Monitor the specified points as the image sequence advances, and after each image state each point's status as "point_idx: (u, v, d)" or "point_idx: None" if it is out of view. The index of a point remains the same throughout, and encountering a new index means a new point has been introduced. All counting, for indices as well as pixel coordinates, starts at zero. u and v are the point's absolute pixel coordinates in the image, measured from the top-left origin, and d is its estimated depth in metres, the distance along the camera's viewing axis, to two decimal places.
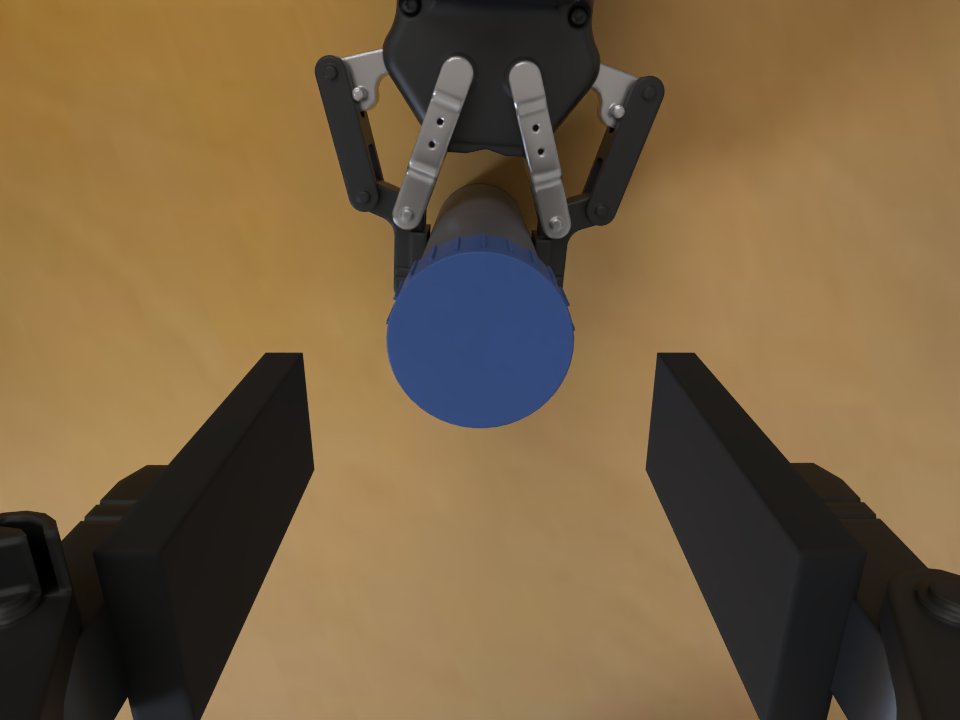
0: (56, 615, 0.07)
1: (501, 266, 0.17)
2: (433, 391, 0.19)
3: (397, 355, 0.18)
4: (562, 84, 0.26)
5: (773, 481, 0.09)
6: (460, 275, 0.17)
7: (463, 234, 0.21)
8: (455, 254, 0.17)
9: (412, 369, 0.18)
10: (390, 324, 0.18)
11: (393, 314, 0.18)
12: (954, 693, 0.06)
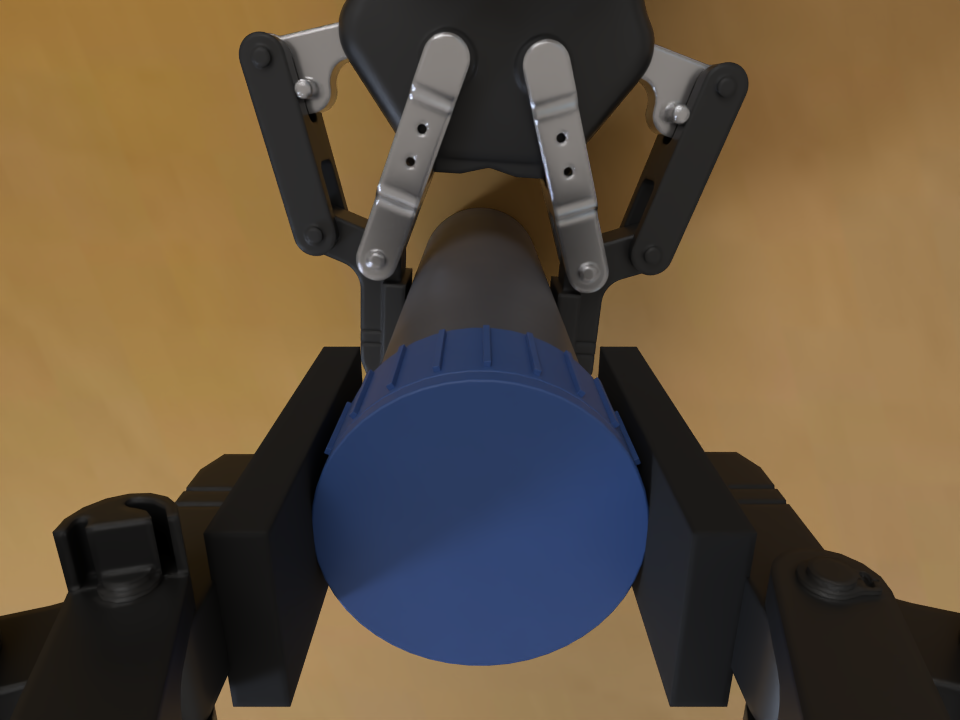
0: (175, 596, 0.07)
1: (520, 405, 0.09)
2: (398, 610, 0.11)
3: (332, 553, 0.10)
4: (600, 74, 0.18)
5: (683, 467, 0.09)
6: (443, 421, 0.09)
7: (453, 313, 0.13)
8: (434, 384, 0.09)
9: (359, 576, 0.10)
10: (317, 504, 0.10)
11: (321, 487, 0.10)
12: (828, 668, 0.06)
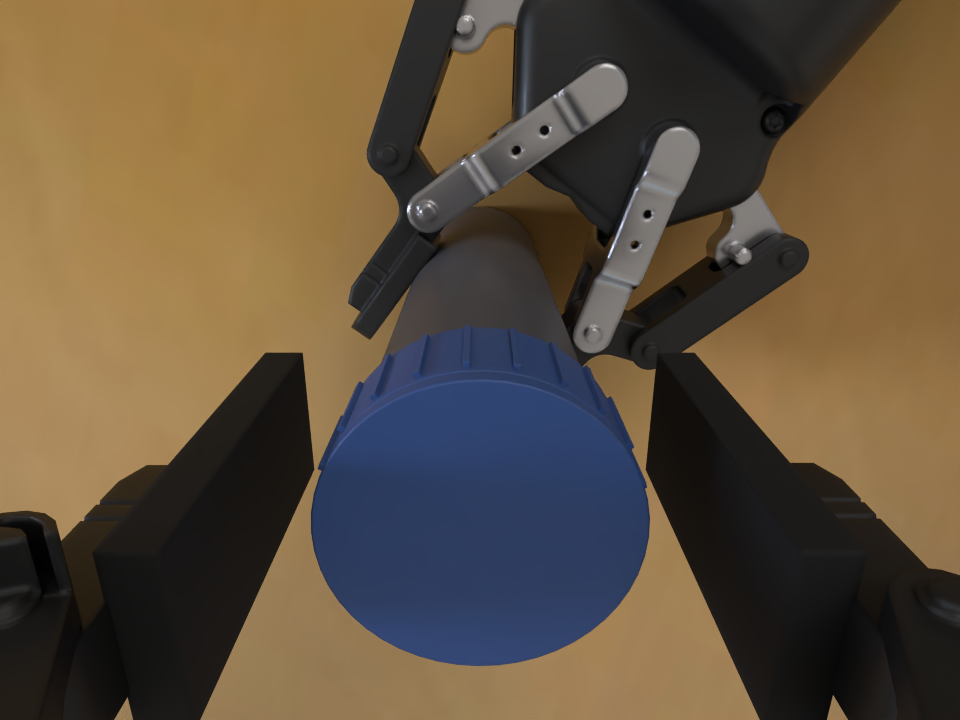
0: (56, 615, 0.07)
1: (377, 436, 0.09)
2: (506, 634, 0.11)
3: (417, 643, 0.11)
4: (706, 184, 0.19)
5: (773, 481, 0.09)
6: (353, 498, 0.10)
7: (519, 313, 0.13)
8: (318, 484, 0.10)
9: (452, 638, 0.11)
10: (365, 625, 0.11)
11: (353, 613, 0.11)
12: (954, 693, 0.06)
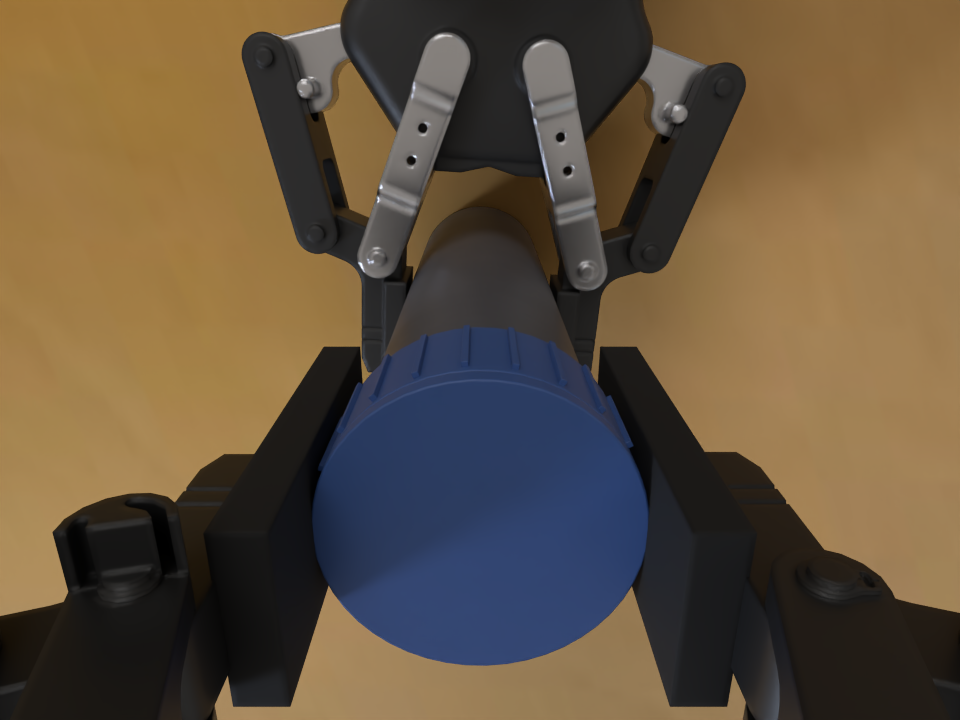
0: (175, 595, 0.07)
1: (335, 501, 0.10)
2: (567, 606, 0.10)
3: (497, 653, 0.11)
4: (599, 74, 0.18)
5: (683, 467, 0.09)
6: (354, 562, 0.10)
7: (453, 310, 0.13)
8: (321, 564, 0.10)
9: (523, 634, 0.11)
10: (442, 660, 0.11)
11: (425, 655, 0.11)
12: (828, 668, 0.06)
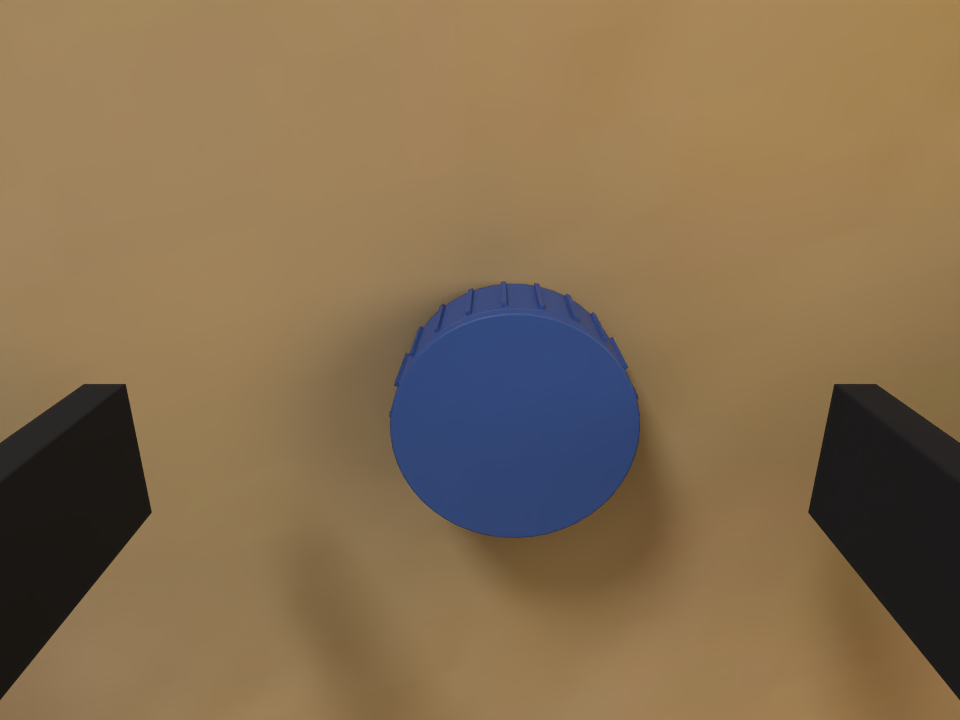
0: None
1: (408, 405, 0.13)
2: (578, 490, 0.14)
3: (526, 527, 0.14)
4: None
5: None
6: (421, 453, 0.14)
7: None
8: (396, 456, 0.14)
9: (545, 512, 0.14)
10: (484, 532, 0.14)
11: (471, 528, 0.14)
12: None
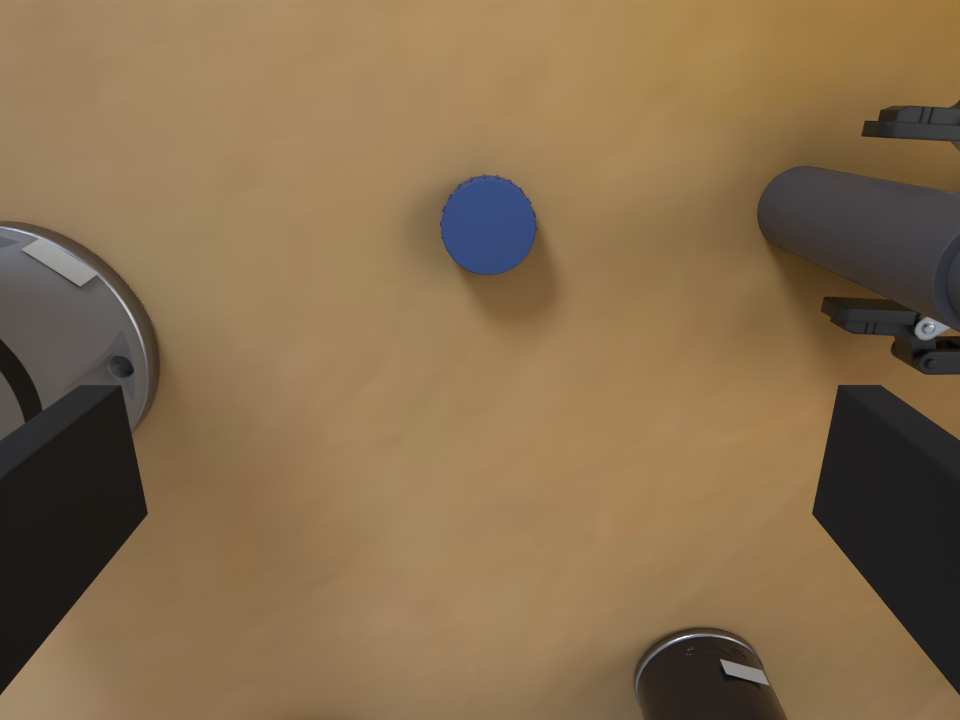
0: None
1: (448, 217, 0.36)
2: (513, 252, 0.36)
3: (493, 269, 0.37)
4: None
5: None
6: (452, 237, 0.36)
7: None
8: (443, 239, 0.36)
9: (501, 262, 0.37)
10: (477, 272, 0.37)
11: (472, 270, 0.37)
12: None
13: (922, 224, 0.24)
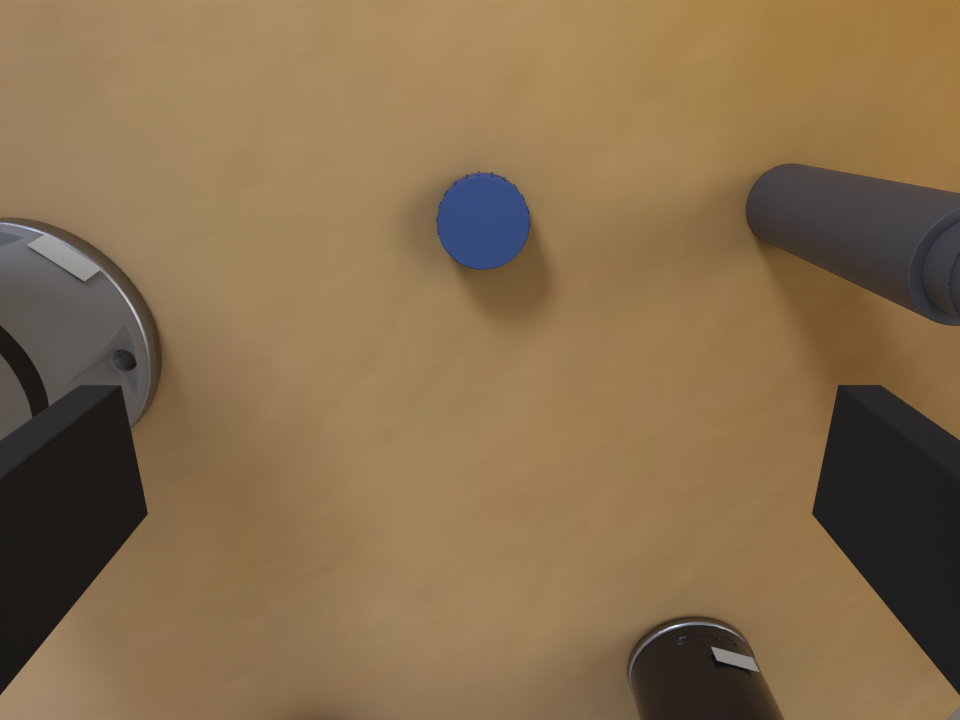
0: None
1: (444, 213, 0.37)
2: (507, 248, 0.37)
3: (488, 264, 0.38)
4: None
5: None
6: (448, 233, 0.37)
7: None
8: (439, 235, 0.37)
9: (495, 258, 0.37)
10: (472, 267, 0.38)
11: (467, 265, 0.38)
12: None
13: (900, 218, 0.25)
